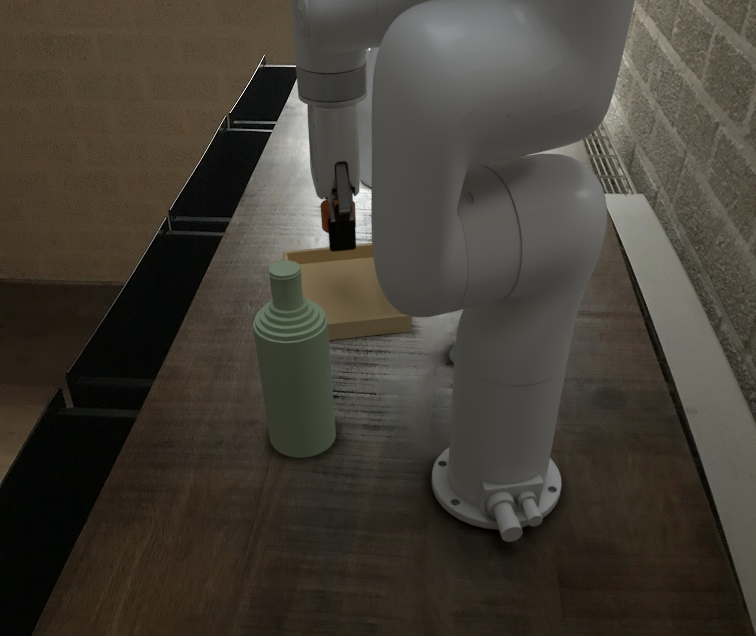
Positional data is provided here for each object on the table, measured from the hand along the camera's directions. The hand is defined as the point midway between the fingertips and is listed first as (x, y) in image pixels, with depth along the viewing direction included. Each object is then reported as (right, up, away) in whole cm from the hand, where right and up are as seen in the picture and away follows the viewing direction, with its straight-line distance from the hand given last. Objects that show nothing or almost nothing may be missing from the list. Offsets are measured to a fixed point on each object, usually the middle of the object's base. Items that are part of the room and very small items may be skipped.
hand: (340, 238), depth 99 cm
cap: (0, +1, -1) cm, 2 cm away
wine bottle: (+6, +20, +31) cm, 38 cm away
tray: (0, -6, +6) cm, 8 cm away
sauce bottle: (-3, -26, -14) cm, 29 cm away
